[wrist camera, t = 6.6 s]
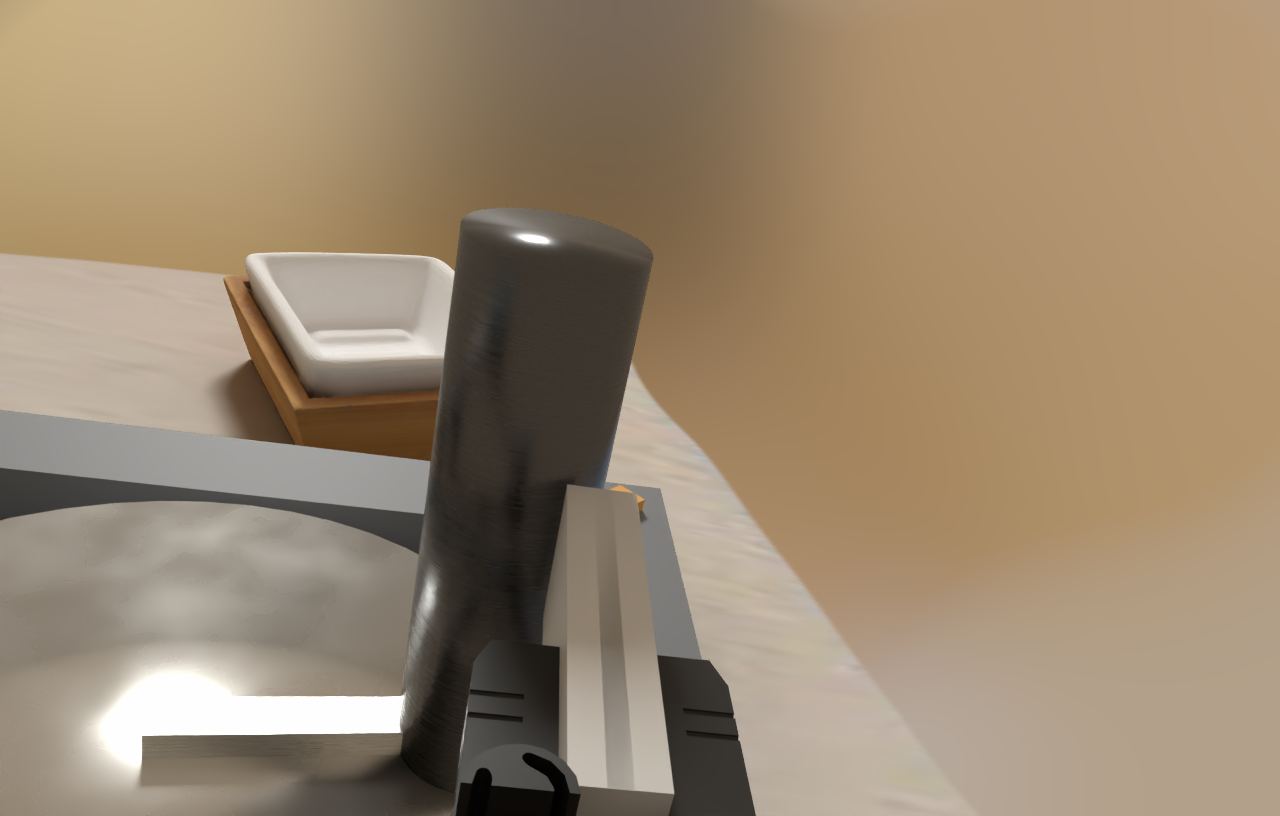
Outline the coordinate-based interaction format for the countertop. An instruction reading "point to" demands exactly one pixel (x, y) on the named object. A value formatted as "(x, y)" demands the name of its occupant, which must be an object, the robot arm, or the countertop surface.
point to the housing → (273, 489)
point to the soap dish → (348, 345)
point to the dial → (324, 579)
